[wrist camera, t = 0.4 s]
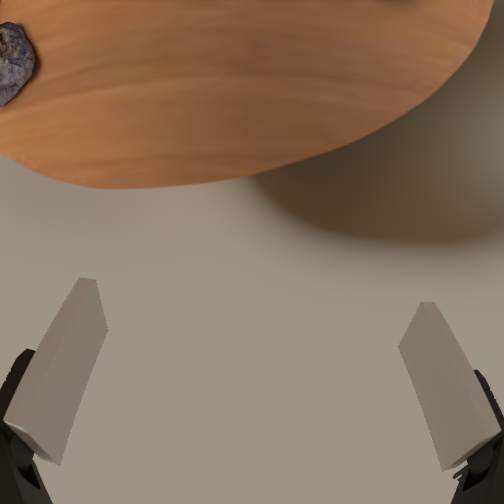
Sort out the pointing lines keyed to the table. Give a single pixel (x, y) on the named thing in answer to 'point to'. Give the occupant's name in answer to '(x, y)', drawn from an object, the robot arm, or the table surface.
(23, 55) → the rock
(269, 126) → the table surface
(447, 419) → the robot arm
